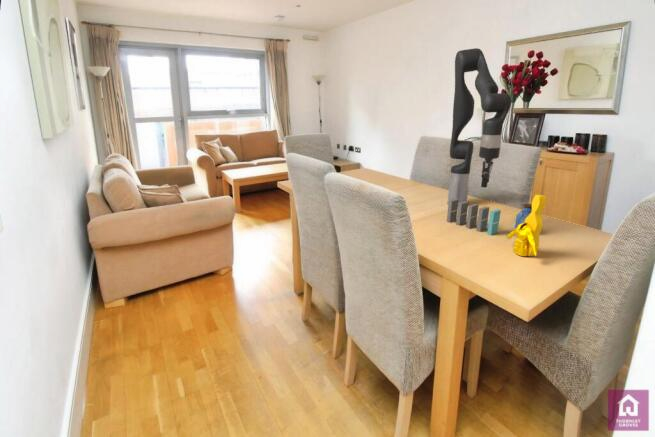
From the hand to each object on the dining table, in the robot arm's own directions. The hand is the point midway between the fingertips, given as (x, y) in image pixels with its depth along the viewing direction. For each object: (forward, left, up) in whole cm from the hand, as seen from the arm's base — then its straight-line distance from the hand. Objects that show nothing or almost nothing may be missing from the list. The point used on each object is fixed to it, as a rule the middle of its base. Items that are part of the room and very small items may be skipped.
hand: (484, 184), depth 151 cm
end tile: (+1, +7, -19) cm, 21 cm away
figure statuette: (+11, +25, -20) cm, 34 cm away
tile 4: (+1, +2, -19) cm, 20 cm away
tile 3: (+1, -3, -19) cm, 20 cm away
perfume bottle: (-11, +14, -20) cm, 26 cm away
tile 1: (+1, -13, -19) cm, 23 cm away
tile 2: (+1, -8, -19) cm, 21 cm away
